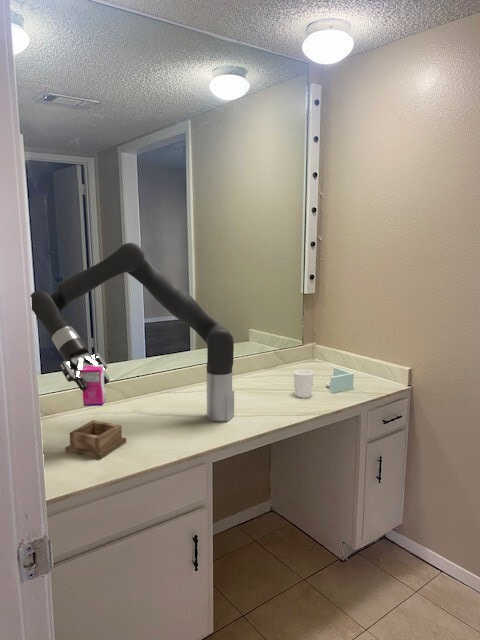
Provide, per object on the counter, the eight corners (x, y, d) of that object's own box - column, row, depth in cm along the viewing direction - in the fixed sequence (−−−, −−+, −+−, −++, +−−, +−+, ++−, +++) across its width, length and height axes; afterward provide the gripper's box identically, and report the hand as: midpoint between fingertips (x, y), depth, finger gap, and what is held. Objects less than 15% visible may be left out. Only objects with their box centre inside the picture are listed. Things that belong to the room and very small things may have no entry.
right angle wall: (334, 383, 222) (335, 367, 220) (352, 390, 211) (353, 373, 210) (313, 387, 216) (314, 370, 214) (331, 394, 205) (332, 377, 204)
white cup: (291, 397, 200) (291, 373, 199) (296, 391, 208) (297, 368, 206) (309, 399, 197) (310, 375, 196) (314, 393, 205) (315, 370, 203)
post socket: (126, 442, 155) (125, 424, 154) (100, 459, 143) (99, 440, 142) (93, 436, 160) (92, 418, 159) (65, 452, 148) (64, 433, 147)
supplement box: (86, 399, 152) (85, 364, 150) (106, 399, 153) (104, 364, 151) (82, 406, 146) (80, 369, 144) (102, 406, 147) (101, 369, 145)
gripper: (55, 341, 144) (83, 385, 140) (92, 333, 156) (120, 373, 152) (44, 356, 148) (72, 399, 144) (82, 347, 159) (108, 386, 156)
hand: (96, 386), depth 148 cm, fingers closed on supplement box, 8 cm apart
